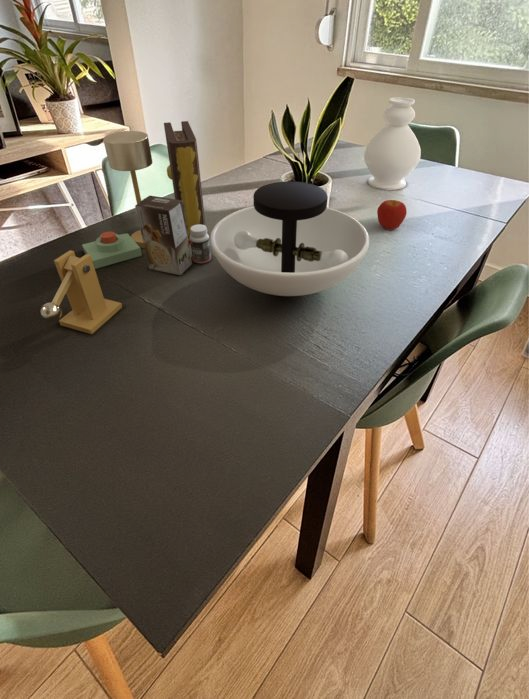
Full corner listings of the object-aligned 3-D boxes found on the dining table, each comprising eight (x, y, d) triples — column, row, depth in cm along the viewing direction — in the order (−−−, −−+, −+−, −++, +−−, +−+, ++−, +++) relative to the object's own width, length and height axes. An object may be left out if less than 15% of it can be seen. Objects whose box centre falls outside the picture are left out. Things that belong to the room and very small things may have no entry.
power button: (104, 245, 105) (102, 239, 104) (100, 240, 108) (98, 233, 107) (118, 242, 107) (117, 235, 106) (114, 236, 109) (112, 230, 108)
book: (211, 241, 115) (202, 141, 98) (180, 245, 113) (164, 144, 97) (200, 208, 131) (190, 118, 114) (172, 211, 129) (158, 120, 113)
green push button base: (95, 269, 104) (90, 254, 101) (84, 252, 110) (79, 238, 108) (142, 255, 109) (138, 241, 106) (129, 240, 115) (125, 226, 113)
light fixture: (221, 339, 84) (211, 239, 70) (210, 256, 108) (202, 171, 94) (382, 321, 87) (403, 224, 73) (336, 246, 112) (346, 162, 98)
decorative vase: (423, 182, 146) (443, 99, 129) (396, 197, 136) (414, 109, 119) (378, 170, 155) (391, 91, 138) (350, 183, 145) (360, 100, 129)
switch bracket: (91, 334, 85) (70, 274, 76) (60, 325, 87) (36, 266, 78) (122, 307, 92) (106, 249, 83) (92, 299, 94) (73, 242, 85)
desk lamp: (135, 253, 110) (110, 145, 93) (123, 238, 116) (97, 135, 99) (171, 243, 114) (154, 138, 97) (157, 229, 120) (138, 128, 103)
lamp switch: (60, 326, 80) (47, 318, 76) (45, 322, 81) (32, 314, 77) (91, 266, 83) (80, 256, 80) (76, 262, 84) (65, 252, 81)
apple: (402, 222, 122) (407, 195, 117) (403, 234, 116) (410, 207, 111) (374, 220, 123) (379, 193, 118) (375, 232, 117) (379, 205, 112)
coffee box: (193, 263, 106) (184, 199, 95) (180, 276, 101) (169, 211, 91) (161, 256, 108) (149, 194, 98) (147, 269, 104) (133, 205, 93)
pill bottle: (188, 260, 107) (183, 229, 101) (200, 252, 110) (197, 221, 104) (202, 265, 105) (199, 234, 99) (215, 257, 108) (212, 226, 102)
